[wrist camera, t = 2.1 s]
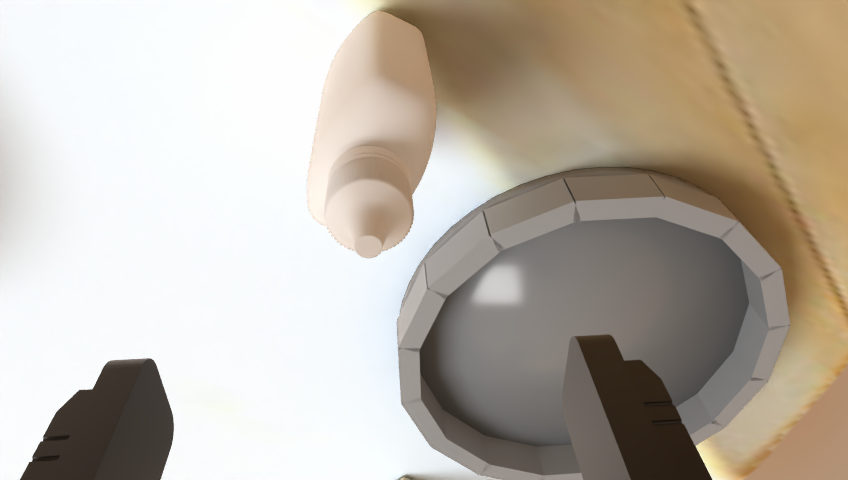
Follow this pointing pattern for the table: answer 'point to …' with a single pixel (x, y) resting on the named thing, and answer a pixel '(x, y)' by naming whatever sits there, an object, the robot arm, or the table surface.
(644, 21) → the table surface
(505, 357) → the round tray
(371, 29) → the eye dropper bottle
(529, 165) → the table surface
